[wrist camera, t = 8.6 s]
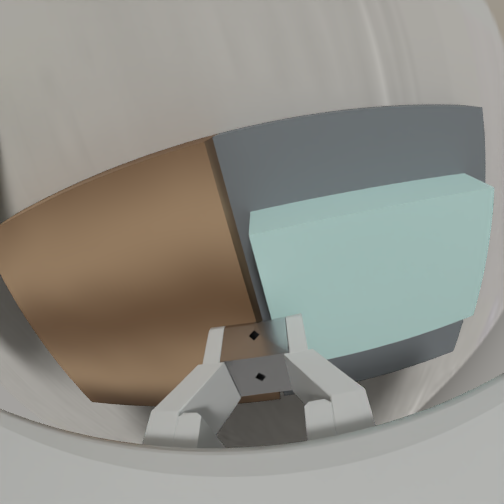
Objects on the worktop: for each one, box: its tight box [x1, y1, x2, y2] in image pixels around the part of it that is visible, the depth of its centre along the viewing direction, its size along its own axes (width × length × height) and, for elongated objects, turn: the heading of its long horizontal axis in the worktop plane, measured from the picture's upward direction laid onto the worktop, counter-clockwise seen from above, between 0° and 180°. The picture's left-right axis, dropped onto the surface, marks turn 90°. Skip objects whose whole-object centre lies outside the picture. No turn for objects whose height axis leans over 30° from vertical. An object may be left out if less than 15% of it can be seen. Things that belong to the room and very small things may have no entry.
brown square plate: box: [0, 134, 280, 406], centre depth 12 cm, size 12×12×3 cm
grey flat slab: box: [212, 105, 485, 396], centre depth 12 cm, size 14×11×2 cm
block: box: [249, 173, 494, 359], centre depth 10 cm, size 6×9×2 cm, turn 104°
